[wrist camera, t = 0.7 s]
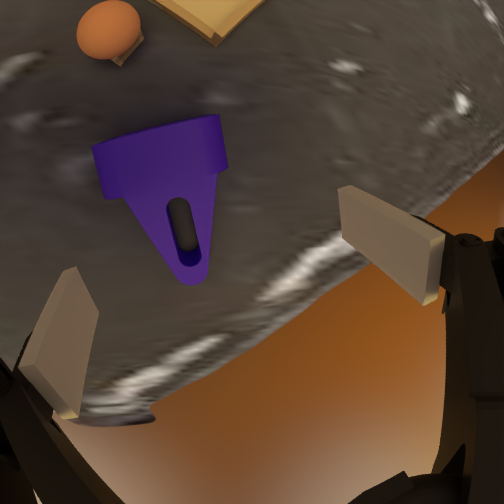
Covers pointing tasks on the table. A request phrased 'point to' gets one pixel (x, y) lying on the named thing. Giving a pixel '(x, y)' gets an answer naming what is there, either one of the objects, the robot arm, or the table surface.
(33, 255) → the table surface
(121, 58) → the open wooden box
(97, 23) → the ball
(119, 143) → the bracket
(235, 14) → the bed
